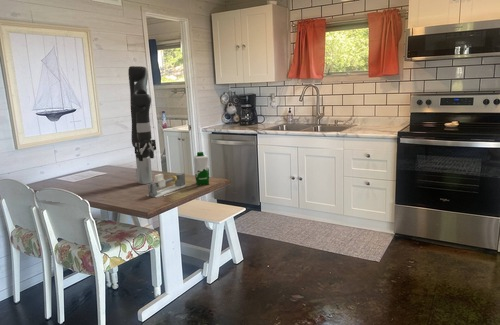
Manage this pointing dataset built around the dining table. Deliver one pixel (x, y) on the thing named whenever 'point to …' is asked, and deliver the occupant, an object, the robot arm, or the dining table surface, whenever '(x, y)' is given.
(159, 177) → the cream stepped block
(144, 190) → the dining table surface
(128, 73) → the robot arm
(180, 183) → the cord rig
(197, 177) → the milk carton
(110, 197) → the dining table surface
